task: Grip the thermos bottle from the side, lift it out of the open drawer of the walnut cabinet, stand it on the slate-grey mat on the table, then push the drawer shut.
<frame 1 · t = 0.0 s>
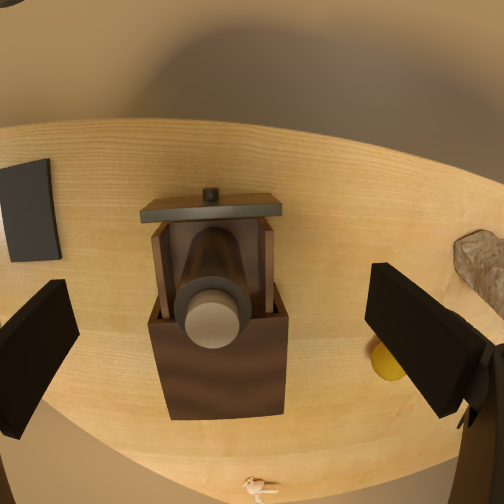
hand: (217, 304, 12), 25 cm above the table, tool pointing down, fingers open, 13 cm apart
drawer: (214, 258, 33), point 4 cm above the table, slide at 10.0 cm, touching thermos bottle
trivet mat: (28, 212, 33), on the table
thermos bottle: (214, 251, 35), point 2 cm above the table, touching drawer
decorative stone: (473, 254, 42), on the table
lemon: (378, 344, 45), on the table
rabbit figurine: (259, 482, 55), on the table
cabinet: (221, 334, 41), on the table
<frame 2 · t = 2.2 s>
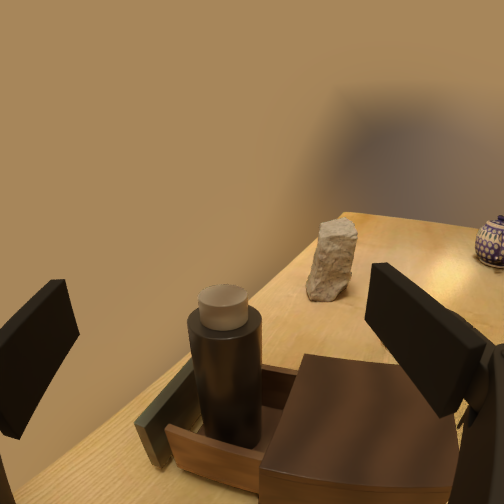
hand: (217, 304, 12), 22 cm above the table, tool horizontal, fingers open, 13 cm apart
teapot: (493, 263, 75), on the table
drawer: (233, 420, 27), point 4 cm above the table, slide at 10.0 cm, touching thermos bottle
thermos bottle: (233, 433, 28), point 2 cm above the table, touching drawer
decorative stone: (326, 291, 64), on the table
cabinet: (352, 468, 24), on the table
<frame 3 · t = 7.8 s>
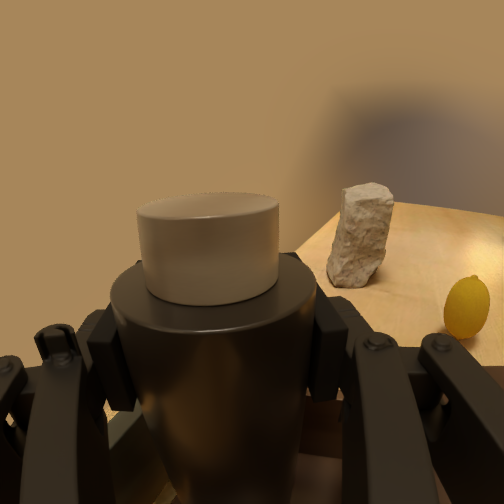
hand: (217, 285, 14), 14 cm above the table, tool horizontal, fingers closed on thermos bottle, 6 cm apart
drawer: (236, 489, 12), point 4 cm above the table, slide at 10.0 cm, touching thermos bottle
decorative stone: (352, 276, 49), on the table
lemon: (457, 341, 29), on the table
when the fingers open (12 cm above the table, at t = 16.1 s): thermos bottle stays where it is, resting on trivet mat.
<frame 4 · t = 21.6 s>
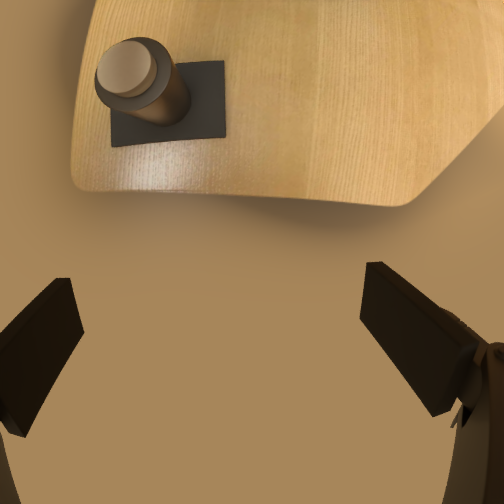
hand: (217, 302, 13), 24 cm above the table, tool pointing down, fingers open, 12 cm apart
trivet mat: (166, 102, 31), on the table
thermos bottle: (166, 102, 31), point 1 cm above the table, touching trivet mat
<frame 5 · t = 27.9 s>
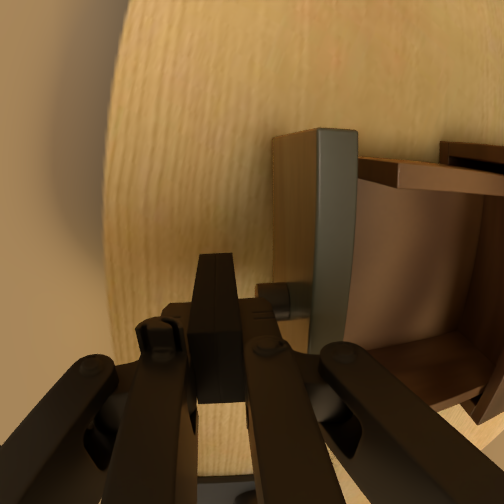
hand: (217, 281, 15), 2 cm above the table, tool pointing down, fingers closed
drawer: (414, 288, 13), point 4 cm above the table, slide at 9.3 cm, touching gripper
trivet mat: (260, 493, 25), on the table
thermos bottle: (262, 499, 24), point 1 cm above the table, touching trivet mat
cabinet: (497, 248, 18), on the table
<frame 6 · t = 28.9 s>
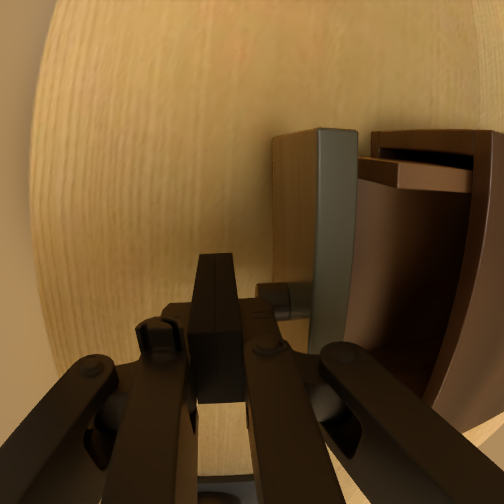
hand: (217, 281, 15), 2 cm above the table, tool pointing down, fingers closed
drawer: (414, 288, 13), point 4 cm above the table, slide at 4.3 cm, touching gripper
trivet mat: (211, 496, 24), on the table
thermos bottle: (212, 502, 24), point 1 cm above the table, touching trivet mat
cabinet: (456, 251, 18), on the table
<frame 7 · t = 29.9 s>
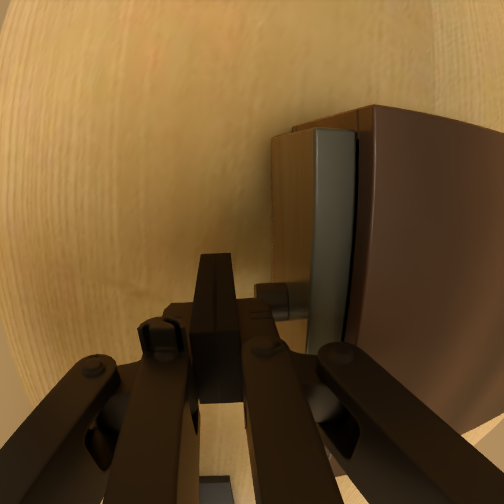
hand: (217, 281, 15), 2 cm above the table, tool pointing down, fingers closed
drawer: (413, 288, 13), point 4 cm above the table, slide at 0.0 cm, touching cabinet, gripper
trivet mat: (169, 495, 24), on the table
cabinet: (407, 255, 18), on the table
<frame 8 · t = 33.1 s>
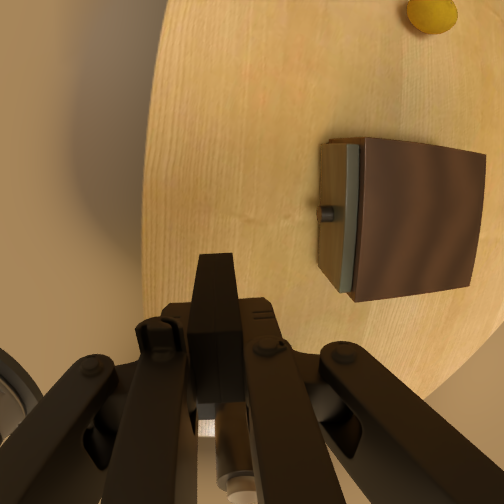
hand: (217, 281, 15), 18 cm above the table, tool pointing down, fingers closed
drawer: (387, 213, 29), point 4 cm above the table, slide at 0.0 cm
thermos bottle: (235, 397, 39), point 1 cm above the table, touching trivet mat
lemon: (413, 21, 27), on the table
cabinet: (386, 205, 34), on the table
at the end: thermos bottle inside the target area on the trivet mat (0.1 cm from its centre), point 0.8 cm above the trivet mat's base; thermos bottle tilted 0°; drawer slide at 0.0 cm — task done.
